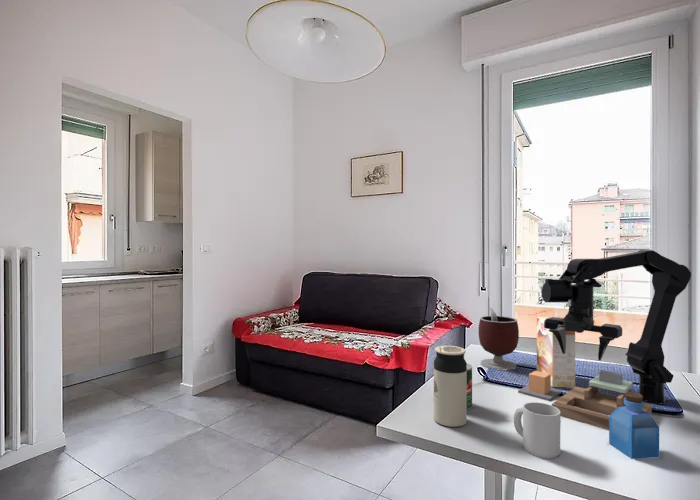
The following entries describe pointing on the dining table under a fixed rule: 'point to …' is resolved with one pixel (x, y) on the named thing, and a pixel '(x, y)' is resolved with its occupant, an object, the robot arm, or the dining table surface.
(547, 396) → the mat
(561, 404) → the puzzle board
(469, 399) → the canned tomato
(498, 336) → the mate gourd
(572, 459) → the dining table surface
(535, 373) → the block
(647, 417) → the perfume bottle
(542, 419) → the cup
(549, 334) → the coffeecake box
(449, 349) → the travel mug
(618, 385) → the lid
